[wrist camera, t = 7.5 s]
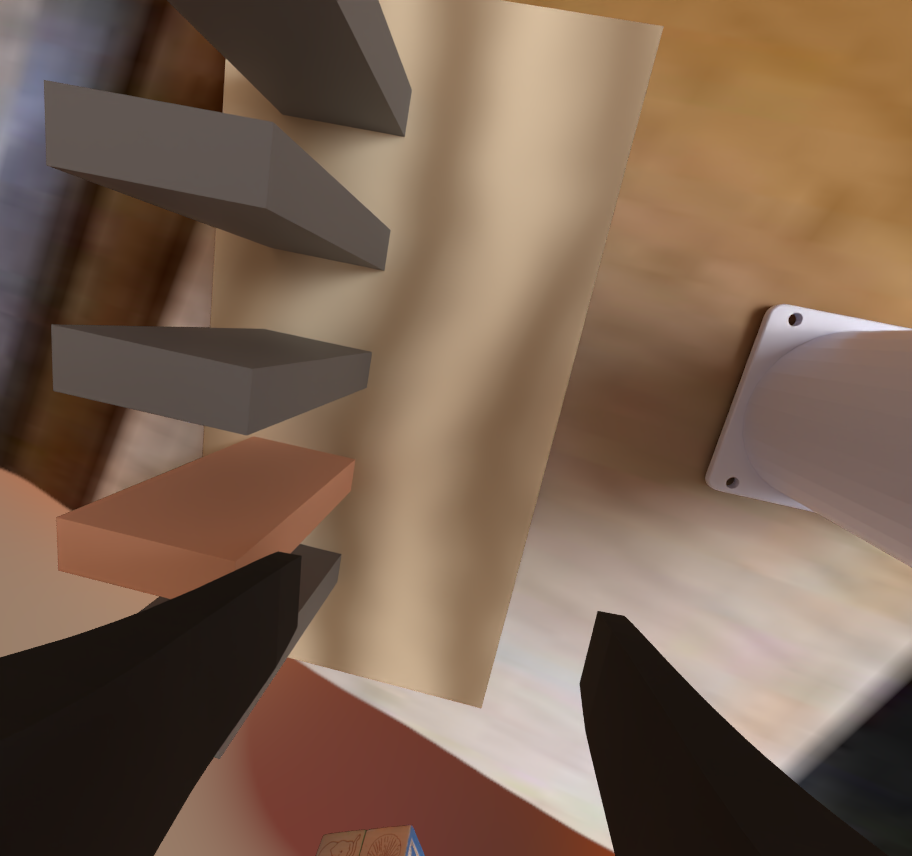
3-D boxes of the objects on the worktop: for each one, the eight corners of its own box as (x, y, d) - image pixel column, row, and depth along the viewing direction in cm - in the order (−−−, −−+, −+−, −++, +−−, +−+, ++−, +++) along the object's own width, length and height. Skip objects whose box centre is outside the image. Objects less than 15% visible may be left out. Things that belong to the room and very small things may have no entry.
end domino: (245, 530, 21) (61, 671, 12) (341, 554, 21) (223, 716, 12) (243, 558, 21) (63, 714, 13) (337, 582, 21) (219, 759, 12)
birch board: (653, 45, 16) (663, 26, 15) (482, 692, 23) (481, 708, 22) (247, -21, 17) (231, -43, 16) (204, 619, 24) (192, 632, 23)
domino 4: (253, 436, 20) (56, 517, 11) (355, 459, 19) (236, 561, 11) (251, 467, 20) (58, 570, 11) (350, 490, 20) (231, 614, 11)
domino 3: (263, 328, 19) (51, 324, 10) (372, 352, 18) (252, 369, 10) (260, 364, 19) (53, 390, 10) (366, 387, 19) (247, 435, 10)
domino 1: (286, 67, 16) (34, -242, 7) (411, 89, 16) (301, -206, 7) (282, 114, 17) (37, -129, 8) (405, 136, 16) (291, -90, 8)
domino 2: (274, 207, 17) (43, 79, 9) (390, 229, 17) (273, 122, 8) (270, 247, 18) (46, 165, 9) (384, 270, 17) (266, 208, 9)
